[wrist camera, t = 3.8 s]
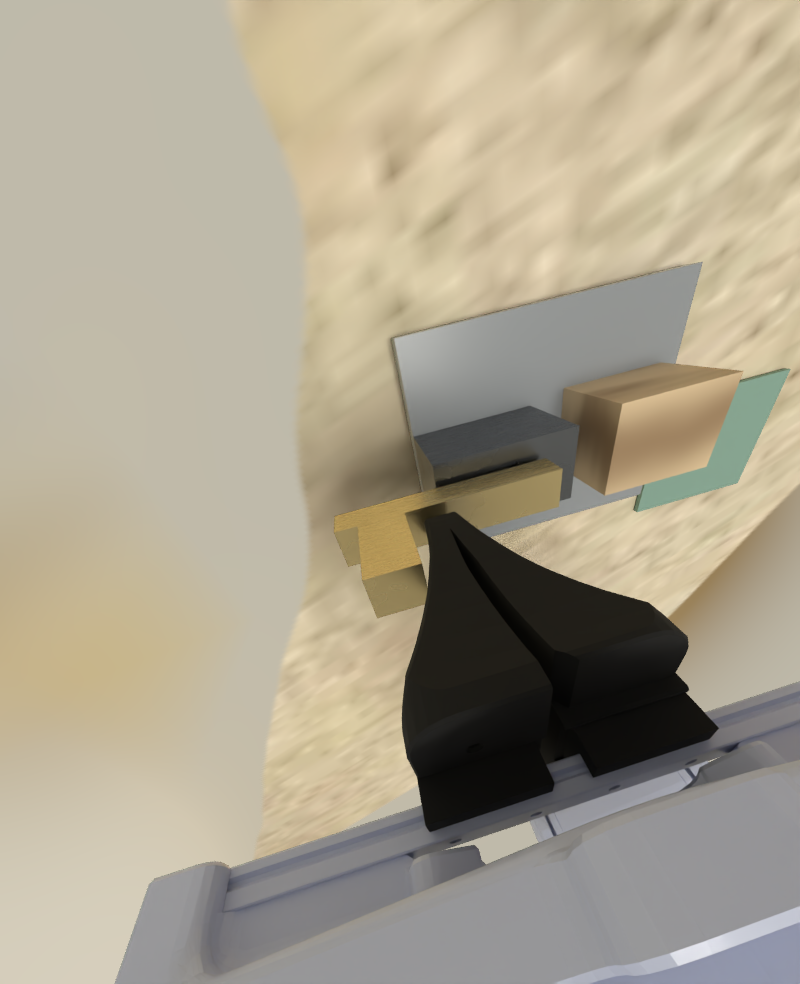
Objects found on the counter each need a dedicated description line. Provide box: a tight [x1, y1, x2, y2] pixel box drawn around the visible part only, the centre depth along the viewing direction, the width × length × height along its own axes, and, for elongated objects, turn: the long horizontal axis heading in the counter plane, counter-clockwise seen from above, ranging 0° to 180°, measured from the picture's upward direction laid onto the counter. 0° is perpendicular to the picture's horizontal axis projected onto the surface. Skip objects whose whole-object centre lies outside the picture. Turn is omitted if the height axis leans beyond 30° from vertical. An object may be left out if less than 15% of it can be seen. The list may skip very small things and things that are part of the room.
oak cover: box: [561, 362, 743, 496], centre depth 16 cm, size 5×6×4 cm
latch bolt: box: [334, 458, 563, 618], centre depth 12 cm, size 2×10×4 cm, turn 102°
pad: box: [634, 369, 790, 512], centre depth 22 cm, size 9×9×1 cm
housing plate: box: [391, 262, 703, 537], centre depth 16 cm, size 14×16×5 cm
